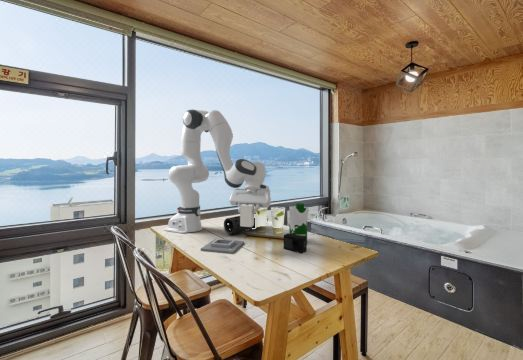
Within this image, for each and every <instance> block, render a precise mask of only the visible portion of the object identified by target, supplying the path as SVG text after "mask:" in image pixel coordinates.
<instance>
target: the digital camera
mask: <svg viewBox="0 0 523 360" xmlns="http://www.w3.org/2000/svg"><path fill="white" fill-rule="evenodd" d="M307 245H308V236H307V237H304V236H300V235H295V234H290V233H288V232H287V233H285V234H283V248H282V249H283V250H286V251H289V252H295V253H297V254H298V253H299V254H304V253H306V252H307V249H308V248H307V247H308V246H307Z"/></svg>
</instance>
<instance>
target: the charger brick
mask: <svg viewBox="0 0 523 360" xmlns="http://www.w3.org/2000/svg"><path fill="white" fill-rule="evenodd" d="M253 209H255V207H254V204H242V205H240V213H239V216H240V226H243V227H252V226H253V225H254V214H253V213H252V211H253Z"/></svg>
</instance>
